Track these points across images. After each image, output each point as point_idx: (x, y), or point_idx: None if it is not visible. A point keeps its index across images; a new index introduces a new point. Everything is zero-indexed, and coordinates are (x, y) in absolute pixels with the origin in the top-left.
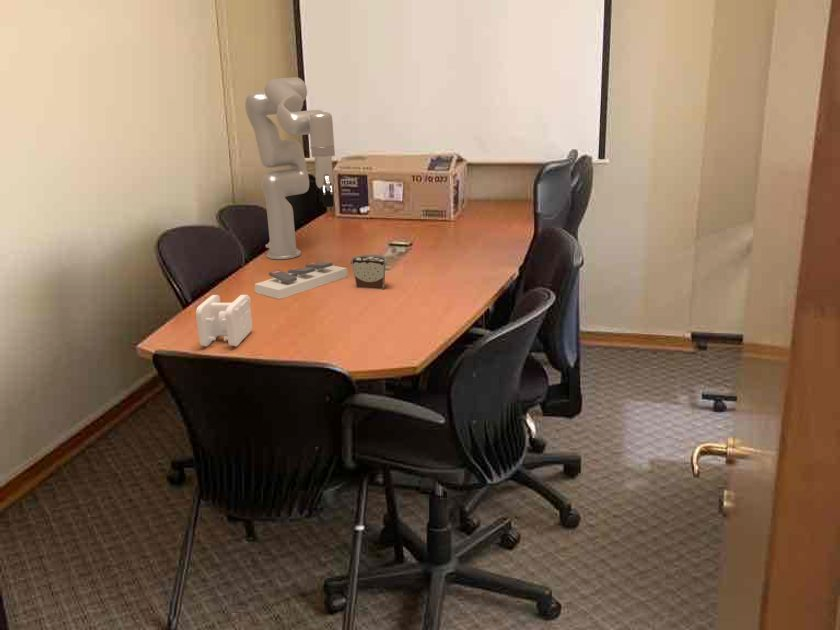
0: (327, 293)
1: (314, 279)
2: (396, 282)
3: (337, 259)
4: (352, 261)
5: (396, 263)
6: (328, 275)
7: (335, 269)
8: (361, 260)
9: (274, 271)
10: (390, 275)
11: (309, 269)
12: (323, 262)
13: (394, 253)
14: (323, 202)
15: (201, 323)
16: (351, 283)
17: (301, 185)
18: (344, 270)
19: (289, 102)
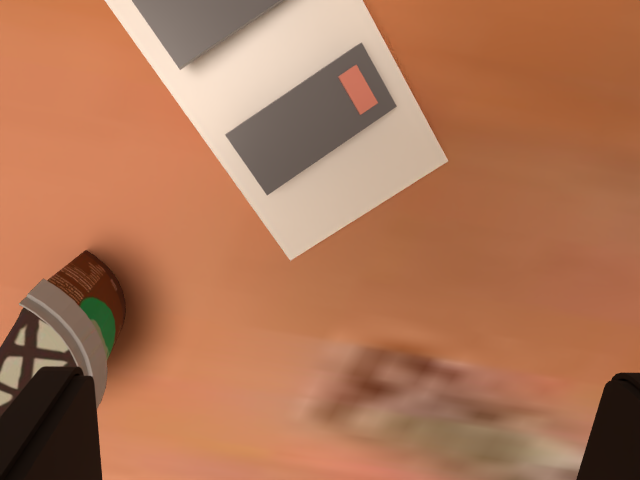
0: (27, 100)
1: (145, 56)
2: (122, 414)
3: (602, 254)
4: (29, 296)
5: (404, 458)
6: (211, 148)
7: (291, 202)
8: (12, 347)
9: None
10: (237, 411)
11: (154, 28)
12: (329, 151)
13: (551, 474)
14: (3, 421)
15: None
16: (170, 242)
17: None
18: (279, 243)
19: None
